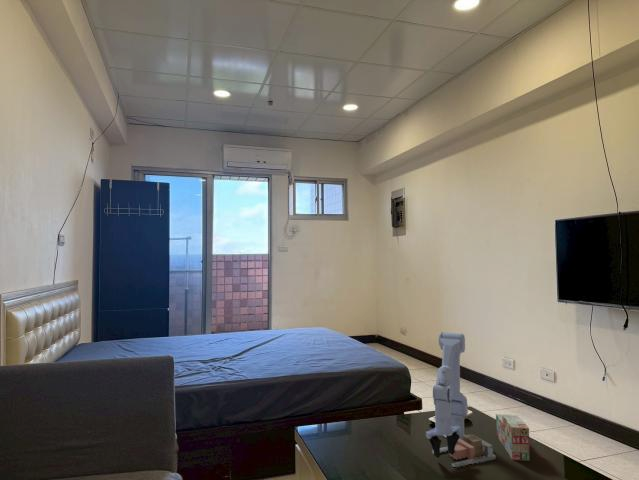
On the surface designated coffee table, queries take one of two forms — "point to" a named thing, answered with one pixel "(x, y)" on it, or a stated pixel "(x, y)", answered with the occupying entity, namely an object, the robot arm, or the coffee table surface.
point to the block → (474, 443)
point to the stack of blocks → (513, 436)
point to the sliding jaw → (463, 450)
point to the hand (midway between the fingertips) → (443, 454)
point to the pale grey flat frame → (487, 455)
